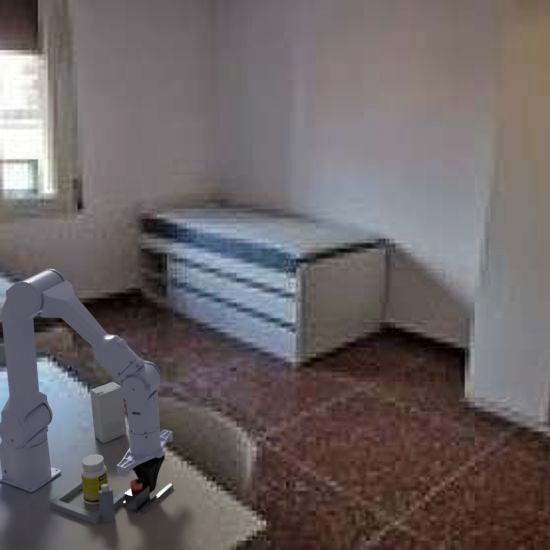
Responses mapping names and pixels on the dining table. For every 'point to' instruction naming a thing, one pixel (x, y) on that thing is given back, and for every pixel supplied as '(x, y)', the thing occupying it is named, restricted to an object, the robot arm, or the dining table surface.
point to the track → (155, 498)
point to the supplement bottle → (93, 477)
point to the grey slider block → (137, 496)
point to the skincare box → (108, 412)
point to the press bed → (103, 514)
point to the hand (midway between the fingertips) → (148, 489)
